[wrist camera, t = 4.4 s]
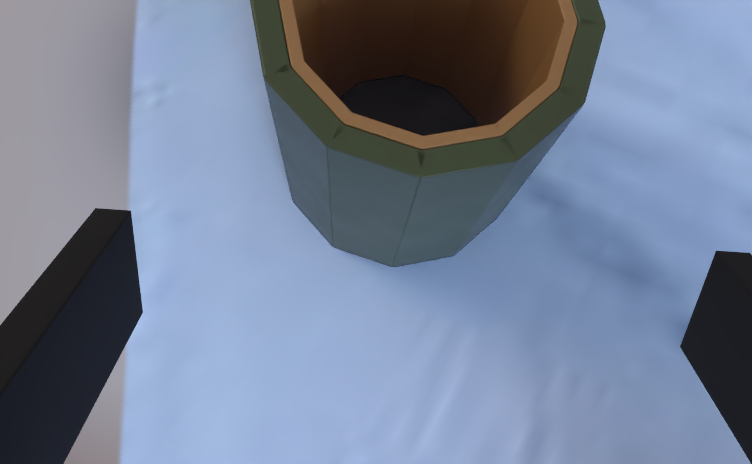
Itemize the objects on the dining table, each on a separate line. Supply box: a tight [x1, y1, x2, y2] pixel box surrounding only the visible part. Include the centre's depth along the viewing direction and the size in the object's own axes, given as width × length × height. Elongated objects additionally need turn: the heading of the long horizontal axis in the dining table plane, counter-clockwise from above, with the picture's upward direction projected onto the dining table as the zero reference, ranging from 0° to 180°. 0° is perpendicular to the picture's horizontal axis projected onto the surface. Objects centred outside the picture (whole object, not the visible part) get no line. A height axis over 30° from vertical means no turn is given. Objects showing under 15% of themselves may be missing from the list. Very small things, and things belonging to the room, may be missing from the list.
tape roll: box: [250, 0, 606, 267], centre depth 25 cm, size 10×10×11 cm
